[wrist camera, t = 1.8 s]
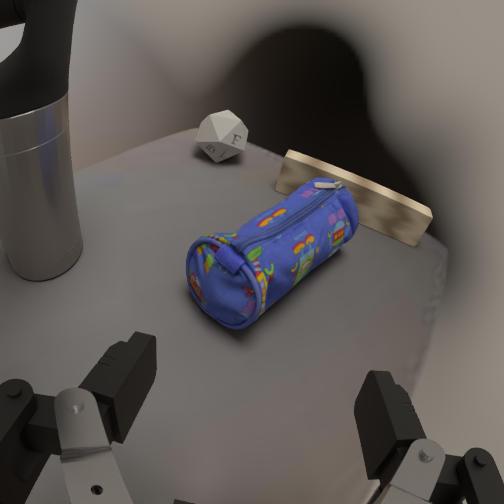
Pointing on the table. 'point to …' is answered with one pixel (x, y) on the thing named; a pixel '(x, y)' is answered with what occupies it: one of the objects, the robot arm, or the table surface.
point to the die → (222, 135)
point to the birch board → (361, 198)
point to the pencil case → (270, 252)
